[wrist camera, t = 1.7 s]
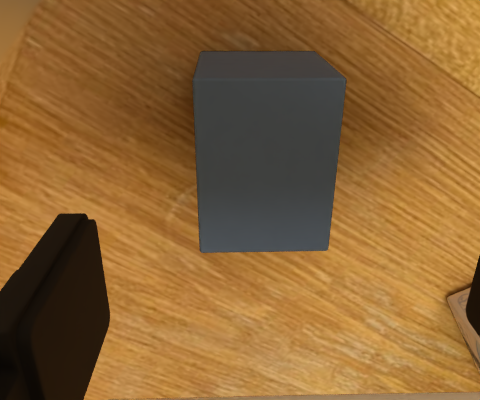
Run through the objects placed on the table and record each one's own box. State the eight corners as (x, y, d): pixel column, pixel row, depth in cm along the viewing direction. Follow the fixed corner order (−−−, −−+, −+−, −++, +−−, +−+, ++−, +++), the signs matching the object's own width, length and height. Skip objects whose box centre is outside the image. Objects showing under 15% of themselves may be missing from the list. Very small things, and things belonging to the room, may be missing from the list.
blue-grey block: (200, 51, 17) (191, 78, 13) (315, 50, 18) (347, 78, 13) (204, 191, 20) (199, 253, 16) (305, 190, 20) (328, 251, 16)
